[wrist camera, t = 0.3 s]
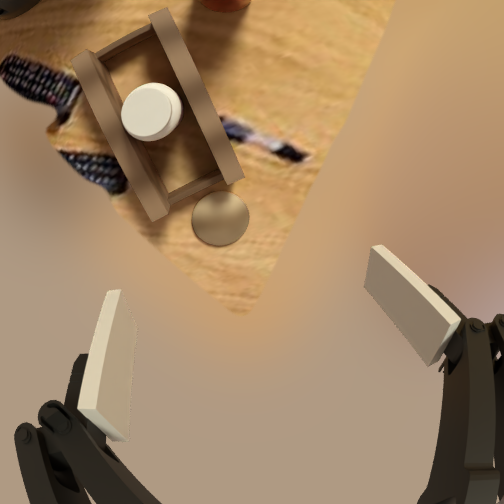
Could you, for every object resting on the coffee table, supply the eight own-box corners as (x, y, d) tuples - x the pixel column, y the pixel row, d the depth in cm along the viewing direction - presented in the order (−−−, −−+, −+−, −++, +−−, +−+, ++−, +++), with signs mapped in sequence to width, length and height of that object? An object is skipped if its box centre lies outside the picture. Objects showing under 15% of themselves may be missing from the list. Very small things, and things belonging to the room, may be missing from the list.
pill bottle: (162, 79, 28) (150, 65, 19) (194, 111, 31) (195, 110, 22) (126, 113, 29) (100, 115, 20) (158, 144, 32) (144, 158, 23)
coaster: (182, 206, 37) (182, 208, 36) (235, 181, 37) (236, 182, 36) (207, 252, 41) (207, 254, 40) (256, 229, 41) (257, 231, 40)
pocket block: (88, 66, 24) (70, 60, 19) (170, 22, 24) (167, 6, 19) (157, 205, 36) (152, 222, 31) (236, 167, 36) (245, 177, 31)
